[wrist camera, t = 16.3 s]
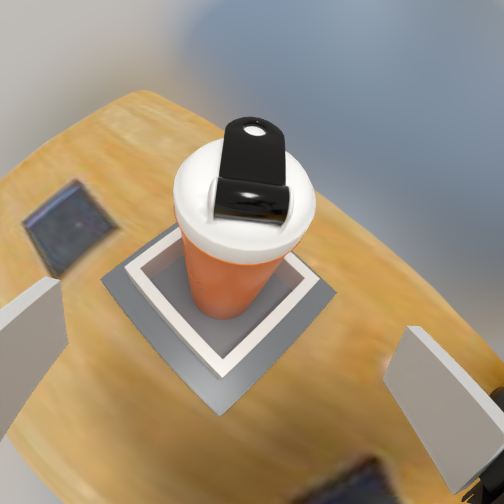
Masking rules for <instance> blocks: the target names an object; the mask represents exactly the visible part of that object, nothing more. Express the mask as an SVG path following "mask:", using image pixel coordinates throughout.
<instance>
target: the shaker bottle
mask: <svg viewBox="0 0 504 504" xmlns="http://www.w3.org/2000/svg"><path fill="white" fill-rule="evenodd" d="M173 194H174V212H175V218H176V221H177V223H178V226H179V228H180V230H181V235H182V242H183V248H184V255H185V261H186V267H187V273H188V279H189V285H190V290H191V295H192V299H193V301H194V303H195V305H196V306H197V307H198V309H200V310H201V311H202V312H203V313H204V314H206V315H208V316H210V317H212V318H216V319H231V318H234V317H237V316H239V315H240V314H242V313H243V312H244V311H245V310H246V309H247V308H248V307H249V306H250V304H251V303H252V302H253V300H254V299H255V297H256V296H257V295H258V293H259V292H260V291H261V289H262V288H263V287H264V285H265V284H266V282H267V281H268V280H269V278H270V277H271V275H272V274H273V273H274V271H275V270H276V269H277V267H278V266H279V264H280V263H281V262H282V260H283V259H284V257H285V256H286V255H287V254H288V253H290V252H291V251H292V250H293V249H294V248H295V247H296V246H297V245H298V244H299V243H300V241H301V239H302V238H303V236H304V234H305V232H306V230H307V228H308V227H309V225H310V223H311V221H312V219H313V217H314V213H315V209H316V198H315V193H314V189H313V186H312V184H311V182H310V180H309V178H308V176H307V174H306V172H305V170H304V169H303V167H302V166H301V165H300V163H299V162H298V161H297V160H296V159H295V158H293V157H292V156H291V155H290V154H289V153H287V152H286V151H285V139H284V135H283V133H282V131H281V130H280V129H279V128H278V127H277V126H275V125H274V124H272V123H270V122H269V121H266V120H264V119H261V118H256V117H243V118H239V119H236V120H233V121H232V122H230V123H228V125H227V126H226V128H225V134H224V139H219V140H216V141H213V142H210V143H208V144H206V145H204V146H203V147H201V148H199V149H198V150H197V151H195V152H194V153H193V154H192V155H190V156H189V157H188V158H187V159H186V160H185V161H184V162H183V164H182V165H181V167H180V168H179V169H178V172H177V174H176V177H175V180H174V188H173Z"/></svg>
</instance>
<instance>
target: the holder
mask: <svg viewBox="0 0 504 504" xmlns="http://www.w3.org/2000/svg"><path fill="white" fill-rule="evenodd" d="M100 280H101V281H102V282H103V284H104V285H105V287H106V288H107V289H108V291H109V292H110V294H111V295H112V296H113V298H114V299H115V300H116V302H117V303H118V304H119V306H120V307H121V308H122V310H123V311H124V312H125V313H126V315H127V316H128V317H129V319H130V320H131V321H132V322H133V324H134V325H135V326H136V327H137V329H138V330H139V331H140V332H141V334H142V335H143V336H144V337H145V338H146V340H147V341H148V342H149V343H150V344H151V345H152V347H153V348H154V349H155V350H156V351H157V352H158V354H159V355H160V356H161V357H162V358H163V359H164V360H165V361H166V363H167V364H168V365H169V366H170V367H171V368H172V369H173V370H174V371H175V372H176V373H177V375H178V376H179V377H180V378H181V379H182V380H183V381H184V382H185V383H186V384H187V385H188V386H189V387H190V388H191V389H192V390H193V391H194V392H195V393H196V394H197V395H198V396H199V397H200V398H201V399H202V400H203V401H204V402H205V403H206V404H207V405H208V406H209V407H210V408H211V409H212V410H213V411H214V412H215V413H216V414H217V415H218V416H221V415H222V414H223V413H224V412H225V411H227V410H228V409H229V408H230V407H231V406H232V405H233V404H234V403H235V402H236V401H237V400H238V399H239V398H240V397H241V396H242V395H243V394H244V393H245V392H246V391H247V390H248V389H249V388H250V387H251V386H252V385H253V384H254V383H255V382H256V381H257V380H258V379H259V378H260V377H261V376H262V375H263V374H264V373H265V372H266V371H267V370H268V369H269V368H270V367H271V366H272V365H273V364H274V363H275V362H276V361H277V360H278V359H279V358H280V357H281V356H282V355H283V354H284V352H285V351H286V350H287V349H288V348H289V347H290V346H291V345H292V344H293V343H294V342H295V341H296V339H297V338H298V337H299V336H300V335H301V334H302V333H303V332H304V331H305V329H306V328H307V327H308V326H309V325H310V324H311V323H312V321H313V320H314V319H315V318H316V317H317V316H318V315H319V313H320V312H321V311H322V310H323V309H324V308H325V306H326V305H327V304H328V303H329V302H330V300H331V299H332V298H333V297H334V296H335V294H336V293H337V292H336V291H335V290H334V289H332V288H331V287H330V286H329V285H328V284H327V283H326V282H325V281H324V280H323V279H322V278H321V277H320V276H319V275H318V274H316V273H315V272H314V271H313V270H312V269H311V268H310V267H309V266H308V265H307V264H306V263H305V262H304V261H302V260H301V259H300V258H299V257H298V256H297V255H296V254H295V253H294V252H293V251H291V252H290V253H288V254H287V255H286V256H285V257H284V259H283V260H282V262H281V263H280V264H279V266H278V267H277V269H276V270H275V271H274V273H273V274H272V275H271V277H270V278H269V280H268V281H267V282H266V284H265V285H264V287H263V288H262V289H261V291H260V292H259V293H258V295H257V296H256V297H255V299H254V300H253V302H252V303H251V304H250V306H249V307H248V308H247V309H246V310H245V311H244V312H243V313H242V314H240V315H239V316H237V317H234V318H231V319H216V318H212V317H210V316H208V315H206V314H204V313H203V312H202V311H201V310H200V309H198V307H197V306H196V305H195V303H194V301H193V299H192V295H191V290H190V285H189V279H188V273H187V267H186V261H185V255H184V248H183V242H182V235H181V230H180V228H179V226H178V223H175V224H174V225H172V226H171V227H169V228H168V229H167V230H165V231H164V232H162V233H161V234H160V235H158V236H157V237H155V238H154V239H153V240H151V241H150V242H149V243H147V244H146V245H144V246H143V247H142V248H140V249H139V250H138V251H136V252H135V253H134V254H132V255H131V256H130V257H128V258H127V259H126V260H124V261H123V262H122V263H120V264H119V265H118V266H116V267H115V268H114V269H113V270H111V271H110V272H109V273H107V274H106V275H105V276H104V277H102V278H101V279H100Z"/></svg>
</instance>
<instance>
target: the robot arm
mask: <svg viewBox="0 0 504 504" xmlns="http://www.w3.org/2000/svg"><path fill="white" fill-rule="evenodd" d="M67 345H68V338H67V332H66V325H65V318H64V310H63V301H62V290H61V280H57V279H53V278H49V277H43V278H42V279H41V280H39V281H38V282H36V283H35V284H34V285H32V286H31V287H30V288H28V289H27V290H25V291H24V292H23V293H21V294H20V295H19V296H17V297H16V298H15V299H13V300H12V301H11V302H10V303H8V304H7V305H6V306H4V307H3V308H2V309H1V310H0V442H1V440H2V438H3V437H4V435H5V434H6V432H7V430H8V429H9V427H10V425H11V424H12V422H13V421H14V419H15V418H16V416H17V415H18V413H19V412H20V410H21V408H22V407H23V405H24V404H25V403H26V401H27V400H28V398H29V397H30V395H31V394H32V392H33V391H34V389H35V388H36V387H37V385H38V384H39V382H40V381H41V380H42V378H43V377H44V375H45V374H46V373H47V371H48V370H49V369H50V367H51V366H52V364H53V363H54V362H55V360H56V359H57V358H58V357H59V355H60V354H61V353H62V351H63V350H64V349H65V347H66V346H67ZM382 380H383V382H384V383H385V385H386V386H387V388H388V390H389V391H390V393H391V394H392V396H393V397H394V399H395V400H396V402H397V404H398V405H399V407H400V408H401V410H402V412H403V413H404V415H405V416H406V418H407V420H408V421H409V423H410V424H411V426H412V428H413V429H414V431H415V432H416V434H417V436H418V437H419V439H420V441H421V442H422V444H423V446H424V447H425V449H426V451H427V452H428V454H429V456H430V457H431V459H432V461H433V462H434V464H435V466H436V467H437V469H438V471H439V473H440V474H441V476H442V478H443V480H444V481H445V483H446V485H447V487H448V488H449V490H450V492H451V494H452V495H454V494H456V493H458V492H460V491H462V490H464V489H466V488H467V487H468V486H469V485H470V484H472V483H473V482H474V481H475V480H476V479H477V478H478V477H479V478H480V479H481V480H480V481H479V482H478V483H477V484H476V485H475V486H474V487H473V488H472V489H471V490H470V491H469V492H467V493H466V494H465V495H464V496H463V498H462V501H461V502H464V501H465V500H466V499H468V498H469V497H470V496H471V495H472V494H474V495H473V496H472V497H471V498H470V499H469V500H468V501H467V503H471V504H504V386H503V387H500V388H498V389H496V390H495V391H494V392H493V393H492V394H491V396H490V397H489V396H488V395H487V394H486V393H485V391H484V390H483V389H482V388H481V387H480V386H479V385H478V384H477V383H476V382H475V381H474V380H473V379H472V378H471V377H470V376H469V375H468V373H467V372H466V371H465V370H464V369H463V368H462V367H461V366H460V365H459V364H458V363H457V362H456V361H455V360H454V359H453V358H452V357H451V356H450V355H449V354H448V353H447V352H446V351H445V350H444V349H443V348H442V347H441V346H440V345H439V344H438V343H437V342H436V341H435V340H434V339H433V338H432V337H431V336H430V335H429V334H428V333H426V332H425V331H424V330H423V329H422V328H421V327H420V326H406V328H405V330H404V333H403V335H402V338H401V340H400V342H399V345H398V347H397V349H396V351H395V353H394V356H393V358H392V360H391V362H390V364H389V366H388V368H387V370H386V373H385V375H384V377H383V379H382Z"/></svg>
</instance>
